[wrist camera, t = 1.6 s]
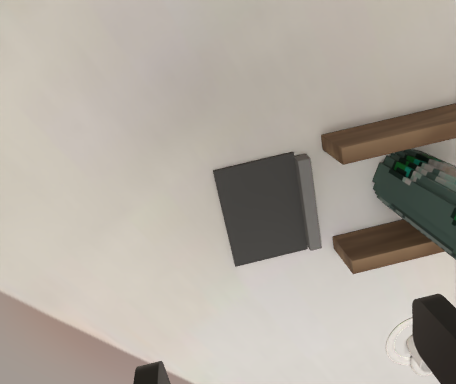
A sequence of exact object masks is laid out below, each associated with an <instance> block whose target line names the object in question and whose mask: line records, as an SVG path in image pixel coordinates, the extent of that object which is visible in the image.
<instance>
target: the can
mask: <svg viewBox="0 0 456 384" xmlns="http://www.w3.org/2000/svg"><path fill="white" fill-rule="evenodd" d="M373 182H375V185H374V187H373V189H374V190H375V191H376V192H375V193H376V194H377V195H378V196H377V198H378V199H380V200H381V201H382V202H383V203H384V204H385V205H387V206H388V207H389V208H390V209H392V210H393V211H394V212H396V213H397V214H398V215H399V216H401V217H402V218H403V219H404V220H406V221H407V222H408V223H410V224H411V225H412V226H413V227H415V228H416V229H417V230H419V231H420V232H421V233H422V234H424V235H425V236H426V237H428V238H429V239H430V240H431V241H433V242H434V243H435V244H436V245H438V246H439V247H440V248H442V249H443V250H444V251H445V252H447V253H448V254H449V255H451V256H452V257H453V258H454V259H456V167H455V166H453V165H451V164H448V163H446V162H444V161H442V160H439V159H437V158H435V157H433V156H430V155H428V154H426V153H424V152H421V151H416V150H412V149H407V150H404V151H399V152H395V154H394V153H391V155H390V157H389V156H386V158H385V160H384V163H379V166H378V168H377V171H376V173H375V176H374V178H373Z"/></svg>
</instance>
